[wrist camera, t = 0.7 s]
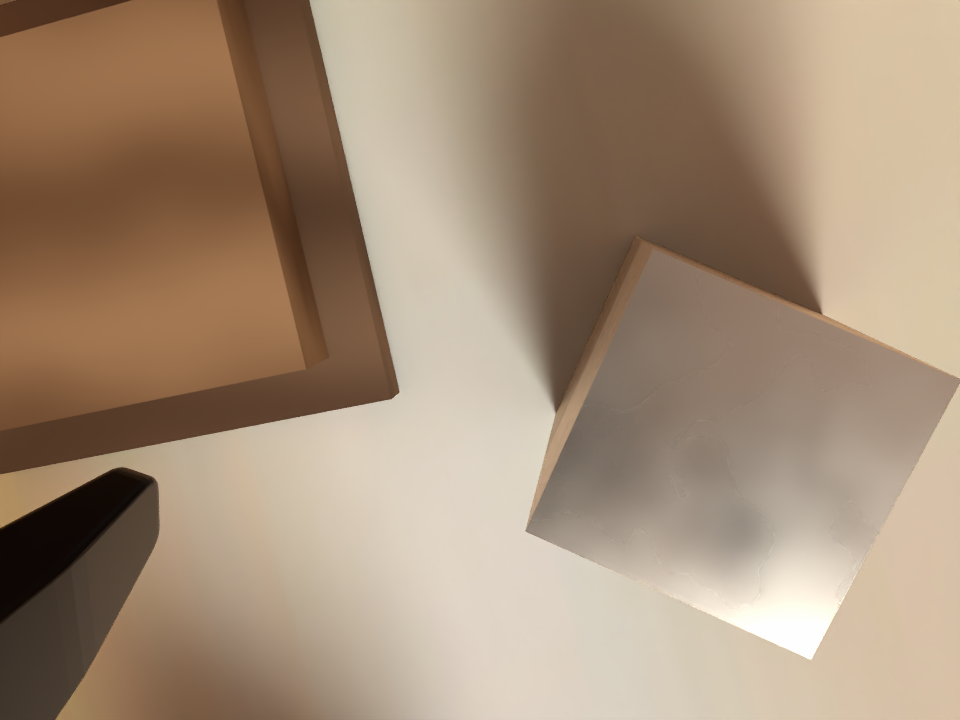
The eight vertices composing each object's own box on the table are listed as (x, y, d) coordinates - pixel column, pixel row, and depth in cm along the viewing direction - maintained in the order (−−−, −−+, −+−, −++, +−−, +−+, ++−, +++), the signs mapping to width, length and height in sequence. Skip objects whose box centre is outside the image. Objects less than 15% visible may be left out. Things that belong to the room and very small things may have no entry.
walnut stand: (399, 392, 27) (373, 414, 24) (6, 468, 29) (-62, 496, 26) (294, -65, 25) (252, -101, 22) (-114, 51, 27) (-201, 32, 24)
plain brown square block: (734, 492, 26) (810, 659, 16) (555, 413, 26) (525, 531, 17) (822, 314, 25) (961, 379, 15) (635, 235, 25) (652, 249, 16)
